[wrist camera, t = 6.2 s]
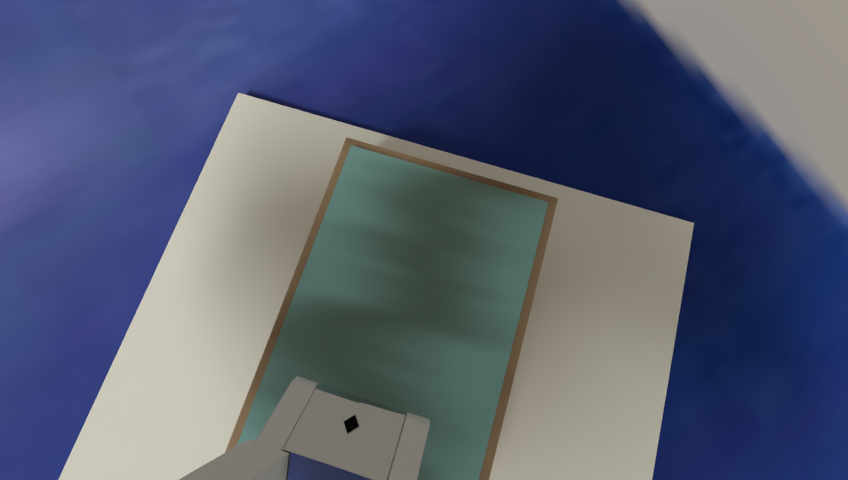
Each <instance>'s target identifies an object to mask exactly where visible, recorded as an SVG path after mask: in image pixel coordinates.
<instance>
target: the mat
mask: <svg viewBox="0 0 848 480" xmlns="http://www.w3.org/2000/svg"><path fill="white" fill-rule="evenodd" d="M346 137H347V138H351V139H354V140H358V141H361V142H364V143H368V144H371V145H375V146H378V147H382V148H385V149H389V150H392V151H396V152H399V153H403V154H406V155H410V156H413V157H416V158H420V159H423V160H427V161H430V162H434V163H437V164H441V165H444V166H448V167H451V168H455V169H458V170H462V171H465V172H469V173H472V174H475V175H479V176H482V177H486V178H489V179H493V180H496V181H500V182H503V183H507V184H510V185H514V186H517V187H521V188H524V189H528V190H531V191H534V192H538V193H541V194H545V195H548V196H552V197H555V198H558V201H557V205H556V210H555V214H554V218H553V222H552V226H551V230H550V234H549V238H548V242H547V246H546V250H545V254H544V258H543V262H542V266H541V270H540V274H539V278H538V283H537V287H536V291H535V295H534V299H533V303H532V307H531V311H530V315H529V319H528V323H527V327H526V331H525V335H524V339H523V343H522V347H521V352H520V356H519V360H518V364H517V368H516V372H515V376H514V380H513V384H512V388H511V392H510V396H509V400H508V404H507V408H506V412H505V416H504V421H503V425H502V429H501V433H500V437H499V441H498V445H497V449H496V453H495V457H494V461H493V465H492V469H491V473H490V477H489V480H652V477H653V471H654V465H655V459H656V453H657V447H658V441H659V435H660V428H661V422H662V416H663V410H664V404H665V398H666V392H667V386H668V380H669V373H670V367H671V361H672V355H673V349H674V343H675V337H676V331H677V325H678V318H679V312H680V306H681V300H682V294H683V288H684V282H685V276H686V270H687V264H688V257H689V251H690V245H691V239H692V233H693V227H694V223H692V222H689V221H685V220H682V219H678V218H675V217H671V216H668V215H664V214H661V213H657V212H654V211H650V210H647V209H643V208H640V207H636V206H633V205H629V204H626V203H622V202H619V201H615V200H612V199H608V198H605V197H601V196H598V195H594V194H591V193H587V192H584V191H580V190H577V189H573V188H570V187H566V186H563V185H559V184H556V183H552V182H549V181H545V180H542V179H538V178H535V177H531V176H528V175H524V174H521V173H517V172H514V171H510V170H507V169H503V168H500V167H496V166H493V165H489V164H486V163H482V162H479V161H475V160H472V159H468V158H465V157H461V156H458V155H454V154H451V153H447V152H444V151H440V150H437V149H433V148H430V147H426V146H423V145H419V144H416V143H412V142H409V141H405V140H402V139H398V138H395V137H391V136H388V135H384V134H381V133H377V132H374V131H370V130H367V129H363V128H360V127H356V126H353V125H349V124H346V123H342V122H339V121H336V120H332V119H329V118H325V117H322V116H318V115H315V114H311V113H308V112H304V111H301V110H297V109H294V108H290V107H287V106H283V105H280V104H276V103H273V102H269V101H266V100H262V99H259V98H255V97H252V96H248V95H245V94H241V93H238V94H237V97H236V99H235V101H234V103H233V105H232V107H231V110H230V112H229V114H228V116H227V118H226V120H225V122H224V125H223V127H222V129H221V131H220V133H219V135H218V137H217V140H216V142H215V144H214V146H213V148H212V150H211V153H210V155H209V157H208V159H207V161H206V163H205V165H204V168H203V170H202V172H201V174H200V176H199V178H198V181H197V183H196V185H195V187H194V189H193V191H192V193H191V196H190V198H189V200H188V202H187V204H186V206H185V209H184V211H183V213H182V215H181V217H180V219H179V221H178V224H177V226H176V228H175V230H174V232H173V234H172V236H171V239H170V241H169V243H168V245H167V247H166V249H165V252H164V254H163V256H162V258H161V260H160V262H159V264H158V267H157V269H156V271H155V273H154V275H153V277H152V280H151V282H150V284H149V286H148V288H147V290H146V292H145V295H144V297H143V299H142V301H141V303H140V305H139V308H138V310H137V312H136V314H135V316H134V318H133V320H132V323H131V325H130V327H129V329H128V331H127V333H126V335H125V338H124V340H123V342H122V344H121V346H120V348H119V351H118V353H117V355H116V357H115V359H114V361H113V363H112V366H111V368H110V370H109V372H108V374H107V376H106V379H105V381H104V383H103V385H102V387H101V389H100V391H99V394H98V396H97V398H96V400H95V402H94V404H93V407H92V409H91V411H90V413H89V415H88V417H87V419H86V422H85V424H84V426H83V428H82V430H81V432H80V434H79V437H78V439H77V441H76V443H75V445H74V447H73V450H72V452H71V454H70V456H69V458H68V460H67V462H66V465H65V467H64V469H63V471H62V473H61V475H60V478H59V480H179V479H181V478H182V477H184V476H186V475H188V474H189V473H191V472H193V471H194V470H196V469H198V468H200V467H201V466H203V465H205V464H206V463H208V462H210V461H212V460H213V459H215V458H217V457H218V456H220V455H222V454H224V453H225V451H226V448H227V446H228V443H229V441H230V438H231V435H232V433H233V430H234V428H235V425H236V422H237V420H238V417H239V415H240V412H241V409H242V407H243V404H244V402H245V399H246V396H247V394H248V391H249V389H250V386H251V383H252V381H253V378H254V376H255V373H256V371H257V368H258V365H259V363H260V360H261V358H262V355H263V352H264V350H265V347H266V345H267V342H268V339H269V337H270V334H271V332H272V329H273V326H274V324H275V321H276V319H277V316H278V313H279V311H280V308H281V306H282V303H283V300H284V298H285V295H286V293H287V290H288V288H289V285H290V282H291V280H292V277H293V275H294V272H295V269H296V267H297V264H298V262H299V259H300V256H301V254H302V251H303V249H304V246H305V243H306V241H307V238H308V236H309V233H310V230H311V228H312V225H313V223H314V220H315V218H316V215H317V212H318V210H319V207H320V205H321V202H322V199H323V197H324V194H325V192H326V189H327V186H328V184H329V181H330V179H331V176H332V173H333V171H334V168H335V166H336V163H337V160H338V158H339V155H340V153H341V150H342V147H343V145H344V142H345V140H346Z"/></svg>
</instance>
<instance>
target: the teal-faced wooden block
mask: <svg viewBox="0 0 848 480" xmlns="http://www.w3.org/2000/svg"><path fill="white" fill-rule="evenodd" d="M557 201H558V198H555V197H552V196H548V195H545V194H541V193H538V192H534V191H531V190H528V189H524V188H521V187H517V186H514V185H510V184H507V183H503V182H500V181H496V180H493V179H489V178H486V177H482V176H479V175H475V174H472V173H469V172H465V171H462V170H458V169H455V168H451V167H448V166H444V165H441V164H437V163H434V162H430V161H427V160H423V159H420V158H416V157H413V156H410V155H406V154H403V153H399V152H396V151H392V150H389V149H385V148H382V147H378V146H375V145H371V144H368V143H364V142H361V141H358V140H354V139H351V138H347V137H346V140H345V142H344V145H343V147H342V150H341V153H340V155H339V158H338V160H337V163H336V166H335V168H334V171H333V173H332V176H331V179H330V181H329V184H328V186H327V189H326V192H325V194H324V197H323V199H322V202H321V205H320V207H319V210H318V212H317V215H316V218H315V220H314V223H313V225H312V228H311V230H310V233H309V236H308V238H307V241H306V243H305V246H304V249H303V251H302V254H301V256H300V259H299V262H298V264H297V267H296V269H295V272H294V275H293V277H292V280H291V282H290V285H289V288H288V290H287V293H286V295H285V298H284V300H283V303H282V306H281V308H280V311H279V313H278V316H277V319H276V321H275V324H274V326H273V329H272V332H271V334H270V337H269V339H268V342H267V345H266V347H265V350H264V352H263V355H262V358H261V360H260V363H259V365H258V368H257V371H256V373H255V376H254V378H253V381H252V383H251V386H250V389H249V391H248V394H247V396H246V399H245V402H244V404H243V407H242V409H241V412H240V415H239V417H238V420H237V422H236V425H235V428H234V430H233V433H232V435H231V438H230V441H229V443H228V446H227V448H226V451H225V452H227V451H229V450H230V449H232V448H234V447H236V446H237V445H239V444H241V443H242V442H244V441H246V440H248V439H250V440H253V441H256V439H257V437H258V436H259V434H260V432H261V431H262V429H263V427H264V426H265V424H266V423H267V421H268V419H269V418H270V416H271V414H272V413H273V411H274V409H275V408H276V406H277V404H278V403H279V401H280V400H281V398H282V396H283V395H284V393H285V391H286V390H287V388H288V386H289V385H290V383H291V382H292V381H293V380H294V379H295V378H296V377H297V376H299V377H302V378H305V379H308V380H311V381H314V382H317V383H320V384H323V385H326V386H328V387H331V388H334V389H337V390H340V391H342V392H345V393H348V394H351V395H354V396H357V397H359V398H362V399H363V398H365V399H369V400H372V401H375V402H378V403H382V404H385V405H388V406H391V407H394V408H398V409H401V410H404V411H407V412H408V413H411V414H414V415H418V416H421V417H424V418H427V419H430V426H429V430H428V435H427V439H426V444H425V448H424V452H423V457H422V461H421V466H420V470H419V474H418V479H417V480H489V477H490V473H491V469H492V465H493V461H494V457H495V453H496V449H497V445H498V441H499V437H500V433H501V429H502V425H503V421H504V416H505V412H506V408H507V404H508V400H509V396H510V392H511V388H512V384H513V380H514V376H515V372H516V368H517V364H518V360H519V356H520V352H521V347H522V343H523V339H524V335H525V331H526V327H527V323H528V319H529V315H530V311H531V307H532V303H533V299H534V295H535V291H536V287H537V283H538V278H539V274H540V270H541V266H542V262H543V258H544V254H545V250H546V246H547V242H548V238H549V234H550V230H551V226H552V222H553V218H554V214H555V210H556V205H557ZM407 412H406V414H407Z"/></svg>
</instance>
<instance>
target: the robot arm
mask: <svg viewBox="0 0 848 480" xmlns="http://www.w3.org/2000/svg"><path fill="white" fill-rule="evenodd" d="M406 412H407V411H404V410H401V409H398V408H394V407H391V406H388V405H385V404H382V403H378V402H375V401H372V400H369V399H365V398H363V399H362V398H359V397H357V396H354V395H351V394H348V393H345V392H342V391H340V390H337V389H334V388H331V387H328V386H326V385H323V384H320V383H317V382H314V381H311V380H308V379H305V378H302V377H299V376H297V377H296V378H295V379H294V380H293V381H292V382H291V383H290V385H289V386H288V388H287V390H286V391H285V393H284V395H283V396H282V398H281V400H280V401H279V403H278V404H277V406H276V408H275V409H274V411H273V413H272V414H271V416H270V418H269V419H268V421H267V423H266V424H265V426H264V427H263V429H262V431H261V432H260V434H259V436H258V437H257V439H256V441H253V440H250V439H248V440H246V441H244V442H242V443H241V444H239V445H237V446H236V447H234V448H232V449H230V450H229V451H227V452H225V453H224V454H222V455H220V456H218V457H217V458H215V459H213V460H212V461H210V462H208V463H206V464H205V465H203V466H201V467H200V468H198V469H196V470H194V471H193V472H191V473H189V474H188V475H186V476H184V477H182V478H181V479H179V480H417V479H418V474H419V470H420V466H421V461H422V457H423V452H424V448H425V444H426V439H427V435H428V430H429V426H430V419H427V418H424V417H421V416H418V415H414V414H411V413H408V412H407V414H406Z"/></svg>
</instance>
